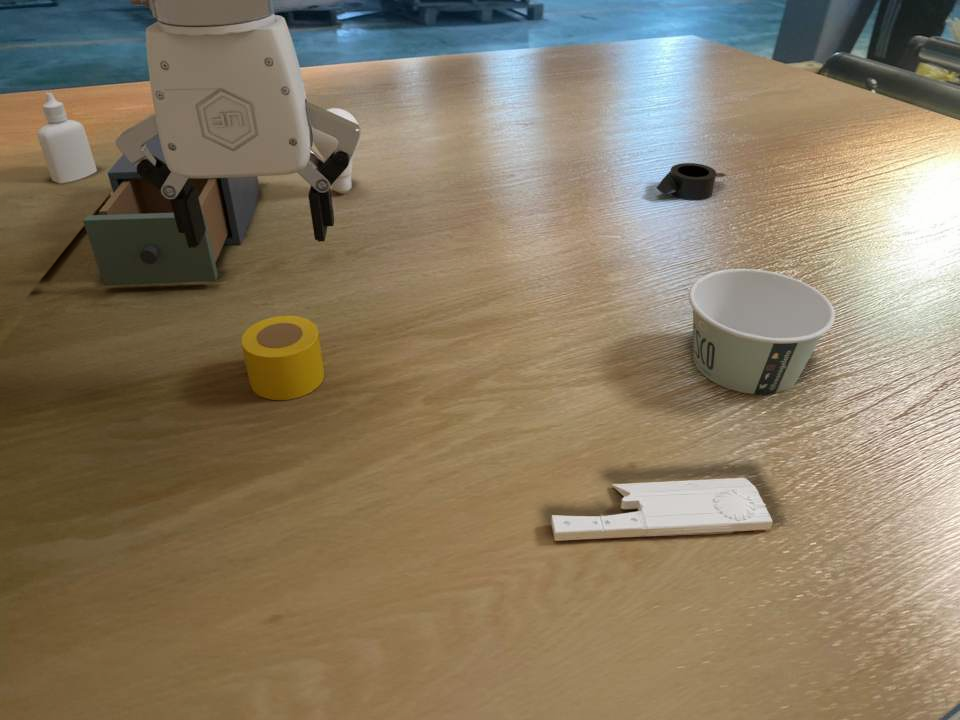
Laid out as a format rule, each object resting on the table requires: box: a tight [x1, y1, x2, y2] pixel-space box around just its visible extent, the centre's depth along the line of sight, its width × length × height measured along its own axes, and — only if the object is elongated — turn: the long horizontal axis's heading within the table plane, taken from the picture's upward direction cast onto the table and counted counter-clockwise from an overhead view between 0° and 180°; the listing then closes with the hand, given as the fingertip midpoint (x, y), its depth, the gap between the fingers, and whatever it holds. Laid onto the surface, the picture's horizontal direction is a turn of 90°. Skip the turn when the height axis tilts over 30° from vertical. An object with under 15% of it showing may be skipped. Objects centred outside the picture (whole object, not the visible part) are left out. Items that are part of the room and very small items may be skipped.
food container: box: [688, 268, 836, 395], centre depth 67 cm, size 12×12×6 cm
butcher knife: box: [550, 477, 773, 542], centre depth 54 cm, size 5×15×1 cm, turn 93°
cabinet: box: [107, 135, 261, 246], centre depth 91 cm, size 15×13×9 cm
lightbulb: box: [312, 107, 362, 195], centre depth 97 cm, size 6×6×11 cm
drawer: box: [82, 178, 230, 286], centre depth 82 cm, size 15×11×7 cm
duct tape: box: [655, 162, 727, 202], centre depth 100 cm, size 8×10×3 cm
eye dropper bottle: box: [37, 92, 98, 184], centre depth 100 cm, size 4×6×12 cm
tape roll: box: [240, 315, 325, 401], centre depth 66 cm, size 6×6×5 cm
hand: (260, 237), depth 60 cm, fingers open, 9 cm apart
